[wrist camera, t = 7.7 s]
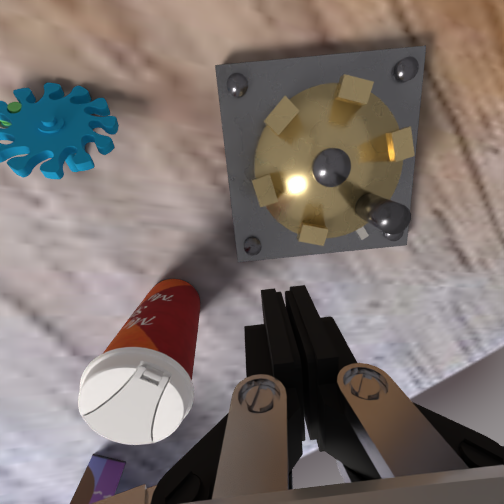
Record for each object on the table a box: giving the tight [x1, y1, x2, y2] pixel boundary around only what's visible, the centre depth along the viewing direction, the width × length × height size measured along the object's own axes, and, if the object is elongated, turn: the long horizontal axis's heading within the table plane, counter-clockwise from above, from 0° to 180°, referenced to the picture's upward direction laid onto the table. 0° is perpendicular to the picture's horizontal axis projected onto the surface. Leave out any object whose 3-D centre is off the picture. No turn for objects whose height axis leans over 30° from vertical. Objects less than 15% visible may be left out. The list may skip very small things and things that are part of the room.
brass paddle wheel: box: [251, 74, 415, 246], centre depth 24 cm, size 13×13×7 cm
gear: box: [0, 83, 119, 179], centre depth 26 cm, size 11×6×10 cm
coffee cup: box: [78, 279, 200, 445], centre depth 27 cm, size 8×8×15 cm
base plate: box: [215, 46, 426, 262], centre depth 29 cm, size 18×18×3 cm
